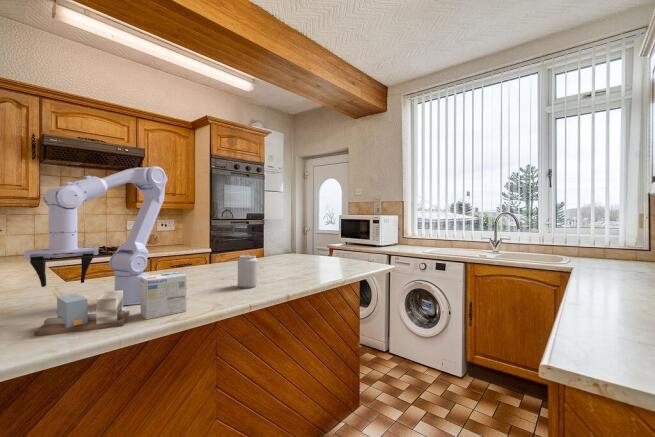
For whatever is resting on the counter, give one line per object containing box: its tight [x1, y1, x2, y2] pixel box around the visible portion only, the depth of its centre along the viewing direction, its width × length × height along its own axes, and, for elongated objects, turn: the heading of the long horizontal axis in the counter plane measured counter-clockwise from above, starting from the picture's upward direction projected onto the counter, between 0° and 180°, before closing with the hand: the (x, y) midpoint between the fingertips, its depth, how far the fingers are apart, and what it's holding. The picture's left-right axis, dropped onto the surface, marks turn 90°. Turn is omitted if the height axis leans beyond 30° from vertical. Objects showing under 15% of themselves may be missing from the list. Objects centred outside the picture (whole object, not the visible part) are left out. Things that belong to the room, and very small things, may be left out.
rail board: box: [33, 290, 131, 337], centre depth 77 cm, size 17×9×7 cm, turn 114°
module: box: [56, 293, 88, 328], centre depth 76 cm, size 4×9×6 cm, turn 54°
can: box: [237, 254, 259, 289], centre depth 119 cm, size 8×8×12 cm
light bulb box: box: [140, 271, 188, 320], centre depth 87 cm, size 11×7×11 cm, turn 135°
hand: (63, 284), depth 80 cm, fingers open, 7 cm apart
